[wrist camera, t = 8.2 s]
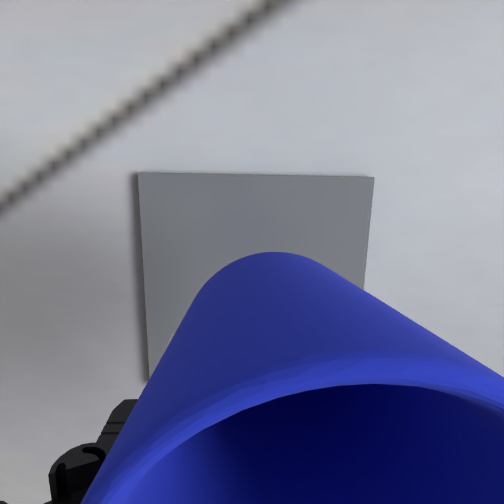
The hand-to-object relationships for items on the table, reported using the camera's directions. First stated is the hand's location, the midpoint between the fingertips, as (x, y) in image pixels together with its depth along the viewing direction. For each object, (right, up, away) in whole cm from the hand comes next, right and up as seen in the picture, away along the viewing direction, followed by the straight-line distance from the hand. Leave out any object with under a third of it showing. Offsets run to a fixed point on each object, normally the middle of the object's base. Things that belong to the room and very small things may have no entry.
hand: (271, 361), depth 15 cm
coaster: (-1, +2, +10) cm, 10 cm away
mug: (+1, 0, +1) cm, 1 cm away
